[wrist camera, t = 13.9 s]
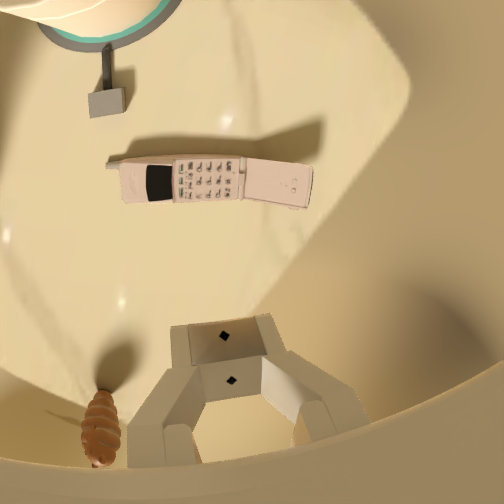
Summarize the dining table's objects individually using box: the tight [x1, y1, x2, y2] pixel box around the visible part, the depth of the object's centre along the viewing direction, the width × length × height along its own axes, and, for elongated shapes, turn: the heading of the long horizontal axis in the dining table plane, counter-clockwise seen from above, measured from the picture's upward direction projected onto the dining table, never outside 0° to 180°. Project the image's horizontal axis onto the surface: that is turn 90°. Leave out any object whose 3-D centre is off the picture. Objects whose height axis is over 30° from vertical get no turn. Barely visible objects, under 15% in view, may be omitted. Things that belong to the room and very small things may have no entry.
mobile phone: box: [106, 154, 313, 210], centre depth 38 cm, size 6×6×25 cm
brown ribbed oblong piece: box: [81, 390, 121, 468], centre depth 50 cm, size 9×8×18 cm
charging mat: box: [37, 0, 181, 118], centre depth 25 cm, size 20×28×2 cm
